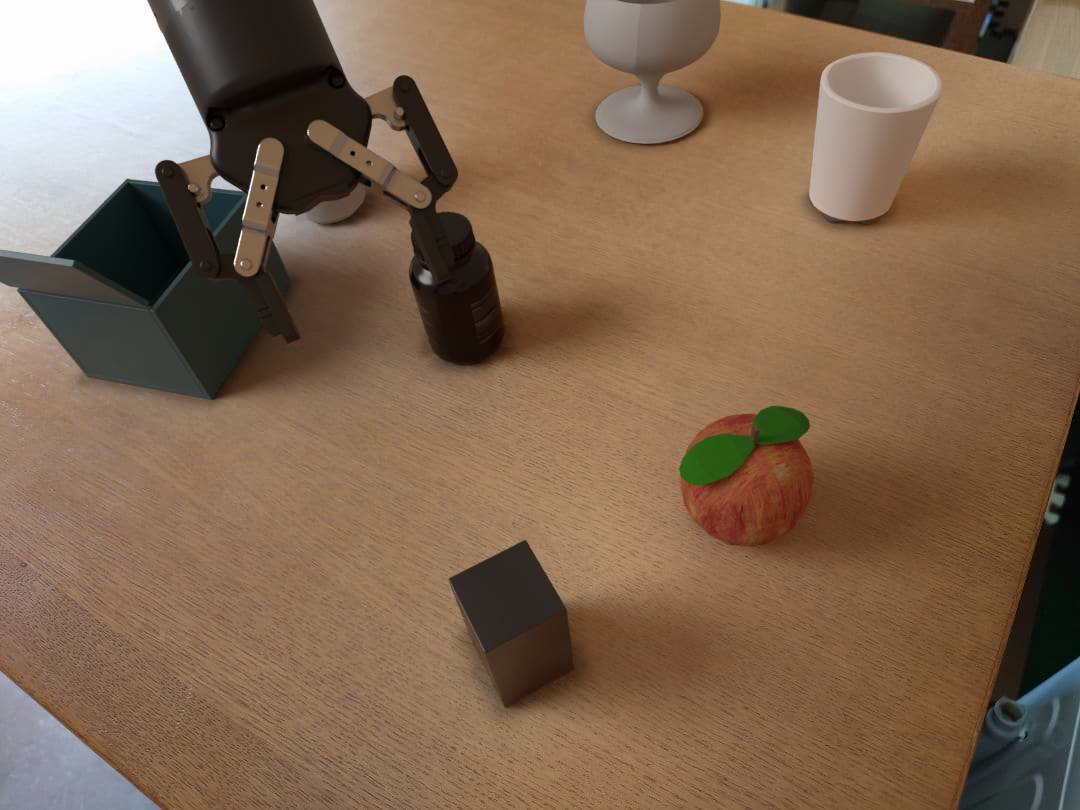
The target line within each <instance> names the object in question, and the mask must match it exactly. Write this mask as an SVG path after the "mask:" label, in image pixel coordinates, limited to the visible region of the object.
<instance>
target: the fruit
mask: <svg viewBox="0 0 1080 810" xmlns="http://www.w3.org/2000/svg"><path fill="white" fill-rule="evenodd" d="M811 427H812V426H811V423H810V419H809V418H808V417H807V416H806V415H805V413H804V412H802V411H800V410H798V409H795V408H794V407H788V406H782V405H770V406H768V407H765V408H763V409H760V410H759V412H758V413H757V414H756V413H738V414H730V415H729V414H728V415H726V416H723V417H721V418H719V419H716V420H715V421H713V422H711V423H709V424H707V426H705V427H704V428H703V429H701V430H699V432H698V433H697V434H696V435H695V436H694V438H693V439H692V441H691V442H690V443H689V444H688V446H687V448H686V450H685V453H684V456H683V457H682V459H681V462H680V465H679V468H678V470H679V485H680V491H681V495H682V500H683V501H682V502H683V504H684V507H685V508H686V510H687V512H688V514H689V516H690V518H691V520H693V521H694V522H695V523H696V524H697V525H698V526H699V527H700V528H701V530H703V531H704V532H705V533H706V534H707V535H709V536H710V537H711V538H713V539H716V540H718V541H721V542H723V543H726V544H728V545H729V546H736V547H751V548H753V547H760V546H767V545H768V544H770V543H772V542H774V541H776V540H779V539H781V538H783V537H785V536H786V535H788V534H789V533H790V532H792V531H793V530H794V528H796V526H797V525H798V524H799V523H800V522H801V520H802V518H803V517H804V516H805V514H806V511H807V509H808V506H809V504H810V502H811V499H812V497H813V494H814V481H815V477H814V476H815V475H814V470H813V465H812V459H811V458H810V456H809V454H808V452H807V451H806V449H805V447H804V446H803V444H802V442H801V440H800V439H801V438H802V437H803V436H805V434H806V433H808V432H809V430H810V428H811Z"/></svg>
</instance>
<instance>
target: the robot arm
mask: <svg viewBox="0 0 1080 810" xmlns="http://www.w3.org/2000/svg"><path fill="white" fill-rule="evenodd" d="M146 1H147V4H148V6H149V7H150V11H151V12H152V14H153V17H154V19H155V21H156V24H157V26H158V27H157V28H159V30H160V32H161V34H162V36H163V38H164V41H165V42H166V44H167V46H168V49H169V51H170V53H171V55H172V57H173V59H174V61H175V64H176V66H177V68H178V70H179V72H180V75H181V76H182V79H183V81H184V83H185V85H186V88H187V89H188V91H189V94H190V96H191V98H192V100H193V102H194V104H195V106H196V109H197V111H198V113H199V115H200V117H201V120H202V122H203V123H204V126H205V129H206V130H207V133H208V136H209V143H210V144H209V145H210V147H209V154H207V155H202V156H199V157H197V158H193V159H190V160H189V159H188V160H186V161H182V162H179V163H177V162H175V161H173V160H171V159H163V160H160V161H159V162H158V163H157V164H156V165H155V167H154V175H155V178H156V180H157V182H158V183H159V185H160V188H161V190H162V192H163V195H164V197H165V200H166V202H167V205H168V207H169V209H170V212H171V214H172V217H173V219H174V222H175V224H176V227H177V229H178V231H179V234H180V236H181V239H182V241H183V244H184V246H185V248H186V251H187V253H188V256H189V258H190V261H191V263H192V265H193V268H194V270H195V272H196V273H197V274H198V275H199V276H201V277H203V278H206V279H208V280H211V281H220V280H238V281H240V282H241V283H242V284H243V285H244V287H245V288H246V291H247V293H248V295H249V297H250V299H251V301H252V303H253V305H254V307H255V309H256V311H257V314H258V316H259V318H260V320H261V322H262V324H263V326H262V327H263V328H264V330H265V332H266V333H267V334H269V336H271V337H272V338H279V337H280V336H282V338H283V339H284V342H285V343H286V344H287V345H291V344H294V343H295V342H298V341H301V340H303V338H302V335H301V333H300V330H299V329H298V327H297V324H296V322H295V320H294V318H293V315H292V313H291V312H290V309H289V307H288V305H287V303H286V300H285V298H284V295H283V296H282V294H281V292H280V290H279V288H278V286H277V284H276V281H275V279H274V277H273V275H271V274H270V273H269V272H266V269H265V268H266V264H267V260H268V256H269V251H270V247H271V243H272V240H273V241H274V239H275V235H276V232H277V227H278V223H279V219H280V214H283V215H289V216H290V215H294V216H295V217H298V216H300V214H303V213H306V212H308V211H310V210H311V209H313V208H314V207H315V206H317V205H318V204H319V203H321V202H326V201H336V200H339V199H342V198H345V197H347V196H350V193H351V192H352V191H353V190H354V189H355V188H356V187H357V185H358V183H359V184H360V185H362V186H363V187H364V189H365V188H366V189H367V190H369V191H370V192H371V193H374V194H376V195H377V196H379V197H381V198H385V199H386V200H388V201H390V202H392V203H393V204H394V205H396V206H398V207H400V208H401V209H403V210H405V211H406V212H408V214H409V216H410V218H409V220H408V225H409V226H410V228H411V232H412V231H413V233H414V236H415V238H416V240H417V243H418V245H419V247H420V250H421V252H422V254H423V256H424V259H425V261H426V263H427V266H428V268H429V270H430V273H431V275H432V277H433V280H434V282H435V283H436V284H438V283H441V282H443V281H446V280H448V279H449V278H450V274H449V271H448V269H447V268H449V267H451V266H453V265H454V252H453V250H452V248H451V245H450V243H449V240H448V238H447V236H446V233H445V231H444V229H443V226H442V224H441V222H440V219H439V217H438V215H437V212H438V211H437V209H436V208H437V207H436V206H437V202H438V201H439V200H440V199H441V198H442V197H443V196H444V195H445V194H446V193H449V192H450V191H451V190H452V188H453V186H454V184H455V183H456V182H457V180H458V177H459V170H458V167H457V165H456V163H455V162H454V160H453V157H452V156H451V153H450V151H449V149H448V147H447V145H446V143H445V141H444V138H443V137H442V135H441V132H440V131H439V128H438V126H437V124H436V122H435V120H434V118H433V116H432V114H431V112H430V110H429V107H428V105H427V104H426V101H425V99H424V97H423V95H422V93H421V91H420V89H419V86H418V85H417V83H416V81H415V80H414V78H413V77H411V76H409V75H407V74H402V75H399V76H396V78H395V79H394V81H393V84H392V85H391V86H389V87H387V88H385V89H382V90H379V91H378V92H376V93H373V94H371V95H369V96H366V97H363V96H362V95H360V94H359V92H357V91H356V90H355V89H354V88H353V87H352V85H351V84H350V82H349V80H348V78H347V75H346V73H345V71H344V69H343V67H342V64H341V61H340V60H339V57H338V55H337V53H336V50H335V48H334V45H333V43H332V41H331V39H330V36H329V34H328V31H327V29H326V27H325V25H324V22H323V20H322V18H321V15H320V13H319V11H318V8H317V6H316V4H315V1H314V0H146ZM375 119H380V120H382V121H384V122H385V123H386V124H387V125H388V126H389V128H390V129H391V130H393V131H395V132H403V131H405V134H406V136H407V138H408V139H409V141H410V143H411V146H412V147H413V150H414V152H415V154H416V155H417V159H418V160H419V162H420V164H421V166H422V169H423V170H424V172H425V174H426V176H425V177H424V178H423V179H421V181H420V182H418V181H417V180H416V179H414V178H413V177H411V176H409V175H407V174H405V173H404V172H403V171H401V170H399V169H398V168H397V167H396V166H395V165H394V164H393V163H391V161H389V160H387V159H385V158H384V157H382V156H380V155H379V154H378V153H376V152H374V151H372V150H371V149H370V148H368V145H369V141H370V136H371V132H372V126H373V120H375ZM218 177H221V178H222V179H223V180H224V181H225V182H227V183H228V184H231V185H232V186H233V187H235V188H237V189H239V191H244V192H245V193H247V194H248V197H247V201H246V206H245V210H244V214H243V219H242V230H241V235H240V239H239V243H238V248H237V252H236V254H221V252H220V249H219V247H218V244H217V242H216V239H215V237H214V234H213V232H212V229H211V227H210V224H209V222H208V219H207V217H206V215H205V212H204V210H203V207H202V205H205V204H207V203H208V202H209V201H210V200H211V197H212V191H211V188H212V183H213V182H214V180H215V179H216V178H218Z"/></svg>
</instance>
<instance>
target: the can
mask: <svg viewBox="0 0 1080 810" xmlns="http://www.w3.org/2000/svg"><path fill="white" fill-rule="evenodd" d="M365 197H366V190H365V187H364V186H362V185H360V184H359V183H358V185H357V187H356V188H355V189H354V190H353V191H352V192H351V193H350V196H347V197H345V198H342V199H339V200H336V201H326V202H321V203H319V204H318V205H317V206H315V207H314V208H313V209H311V210H310V211H308V212H306V213H303V214H300V215H299V216H300V218H302V219H305V220H307V221H310V222H314V223H315V224H321V225H327V224H334V223H338V222H342V221H344V220H346V219H348V218H350V217H352V216H353V215H354V214H355V213H356V212H357V210H358V209H359V208H360V207H361V205H362V204H363V203H364V201H365Z"/></svg>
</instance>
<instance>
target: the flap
mask: <svg viewBox="0 0 1080 810" xmlns="http://www.w3.org/2000/svg"><path fill="white" fill-rule="evenodd" d="M0 283H1V284H3V285H5V286H8V287H11V288H16V289H18V288H23V289H29V290H36V291H42V292H49V293H55V294H62V295H68V296H75V297H81V298H88V299H94V300H101V301H107V302H114V303H120V304H127V305H133V306H140V307H146V308H148V305H149V301H147V300H145V299H144V298H142V297H140V296H138V295H137V294H135V293H133V292H131V291H129V290H128V289H126V288H124V287H122V286H120V285H119V284H117V283H115V282H113V281H111V280H110V279H108V278H106V277H104V276H102V275H101V274H99V273H97V272H95V271H94V270H92V269H90V268H88V267H86V266H85V265H83V264H81V263H79V262H77V261H76V260H70V259H63V258H56V257H50V255H49V256H48V255H42V254H33V253H27V252H20V251H12V250H5V249H0Z"/></svg>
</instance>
